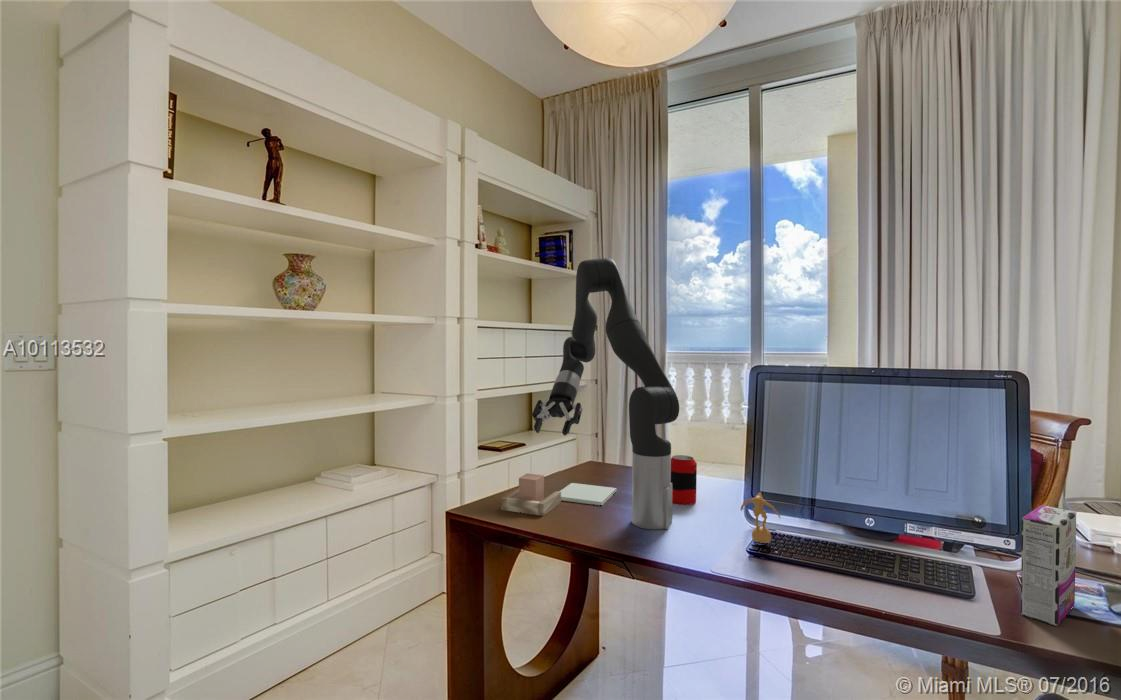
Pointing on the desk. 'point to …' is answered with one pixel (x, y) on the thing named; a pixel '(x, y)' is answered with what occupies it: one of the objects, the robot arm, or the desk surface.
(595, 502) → the sage mat
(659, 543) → the desk surface
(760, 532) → the figurine
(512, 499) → the maple bay
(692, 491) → the soda can
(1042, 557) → the candy bar box
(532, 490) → the terracotta block
